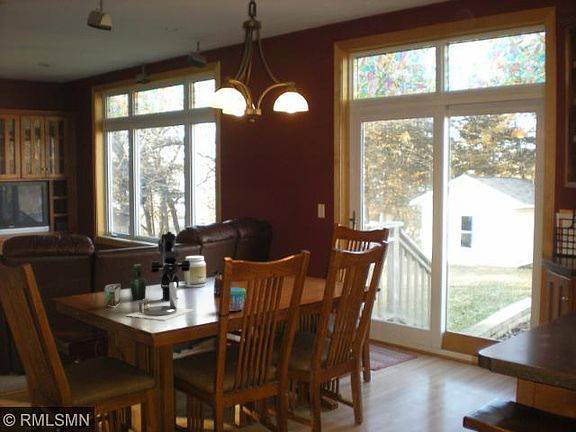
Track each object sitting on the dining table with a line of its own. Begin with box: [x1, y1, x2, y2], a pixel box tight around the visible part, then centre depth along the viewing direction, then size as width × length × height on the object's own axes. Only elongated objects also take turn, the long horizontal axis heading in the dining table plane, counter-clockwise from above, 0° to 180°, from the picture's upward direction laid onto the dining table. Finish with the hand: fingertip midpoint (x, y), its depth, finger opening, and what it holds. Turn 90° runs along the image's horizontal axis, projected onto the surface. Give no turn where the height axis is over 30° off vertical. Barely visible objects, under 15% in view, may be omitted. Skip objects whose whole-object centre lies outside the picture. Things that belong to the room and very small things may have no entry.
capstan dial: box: [143, 282, 178, 315], centre depth 299 cm, size 15×15×13 cm
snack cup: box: [230, 287, 247, 310], centre depth 303 cm, size 16×10×10 cm
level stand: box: [125, 299, 195, 322], centre depth 299 cm, size 22×22×5 cm
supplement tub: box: [183, 255, 207, 289], centre depth 370 cm, size 12×12×17 cm
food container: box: [104, 283, 122, 306], centre depth 318 cm, size 12×6×10 cm, turn 1°
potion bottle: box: [129, 263, 147, 301], centre depth 333 cm, size 8×8×18 cm
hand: (171, 280), depth 311 cm, fingers closed
